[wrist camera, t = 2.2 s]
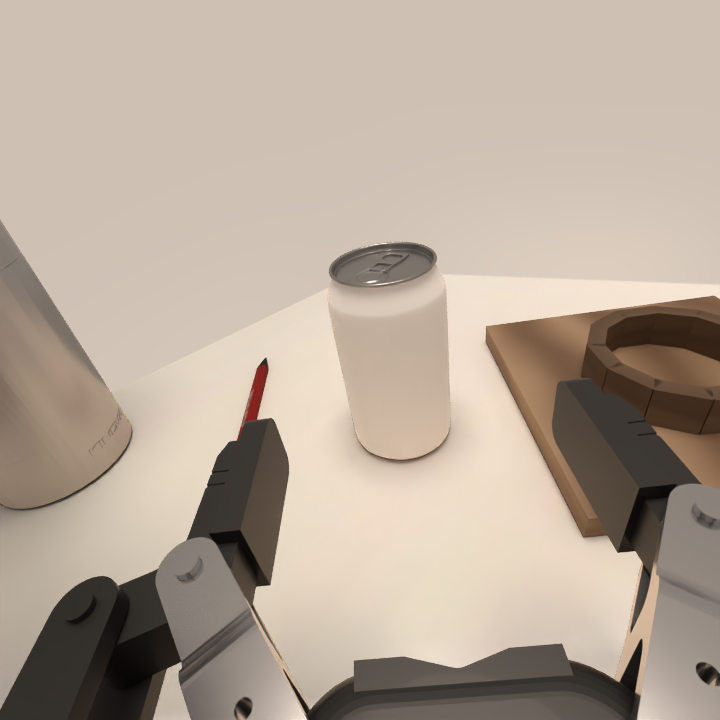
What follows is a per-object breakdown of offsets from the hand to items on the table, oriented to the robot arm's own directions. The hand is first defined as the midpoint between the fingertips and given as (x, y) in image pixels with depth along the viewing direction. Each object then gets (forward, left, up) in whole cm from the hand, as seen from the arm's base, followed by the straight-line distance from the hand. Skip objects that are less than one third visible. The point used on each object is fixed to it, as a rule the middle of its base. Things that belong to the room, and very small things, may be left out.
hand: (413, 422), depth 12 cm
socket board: (+17, +12, -12) cm, 24 cm away
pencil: (-11, +16, -12) cm, 23 cm away
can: (0, +12, -12) cm, 17 cm away
